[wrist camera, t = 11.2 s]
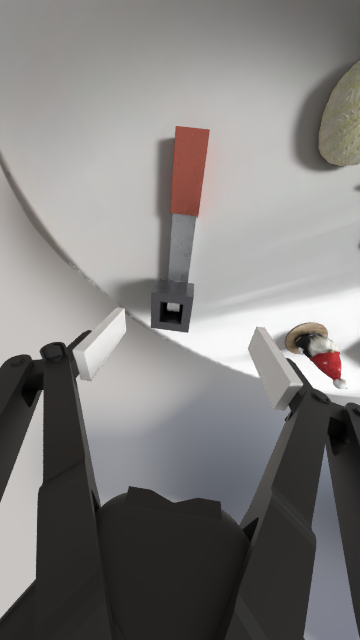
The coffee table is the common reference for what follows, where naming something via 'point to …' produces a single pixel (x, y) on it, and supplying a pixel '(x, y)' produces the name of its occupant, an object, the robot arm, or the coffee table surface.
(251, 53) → the coffee table surface
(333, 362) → the figurine
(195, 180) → the ratchet
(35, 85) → the coffee table surface
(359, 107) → the sea urchin shell
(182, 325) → the socket
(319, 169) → the coffee table surface
